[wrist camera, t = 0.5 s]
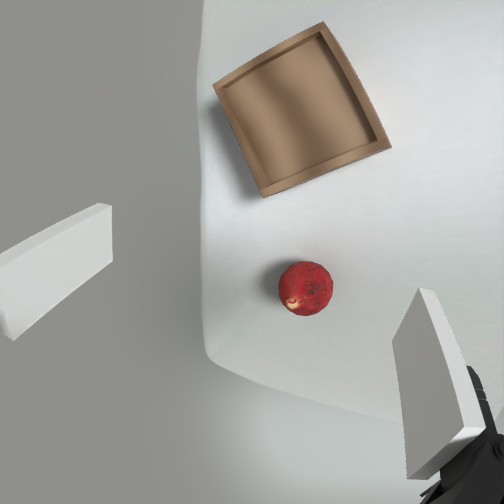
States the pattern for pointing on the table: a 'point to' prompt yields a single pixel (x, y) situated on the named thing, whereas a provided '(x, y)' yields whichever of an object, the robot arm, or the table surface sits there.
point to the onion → (305, 288)
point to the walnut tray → (300, 111)
